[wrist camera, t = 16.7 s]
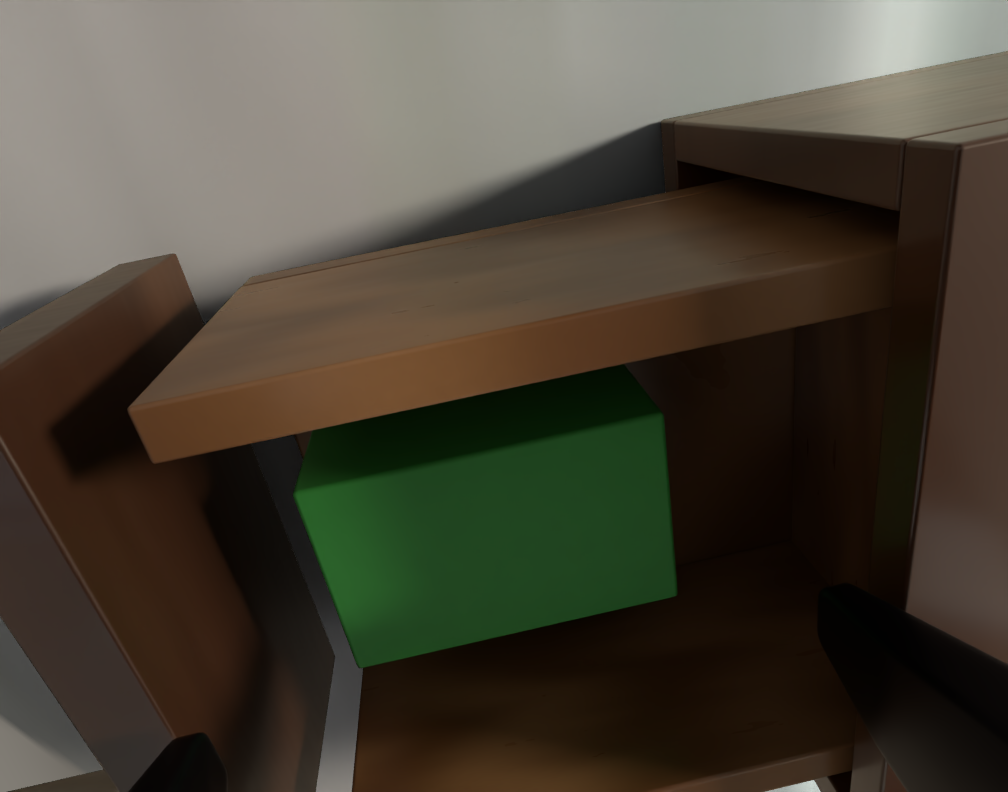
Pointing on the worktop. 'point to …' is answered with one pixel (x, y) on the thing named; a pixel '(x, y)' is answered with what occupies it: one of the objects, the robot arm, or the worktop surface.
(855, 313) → the drawer
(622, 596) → the green rectangular box
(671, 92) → the worktop surface
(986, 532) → the cabinet
